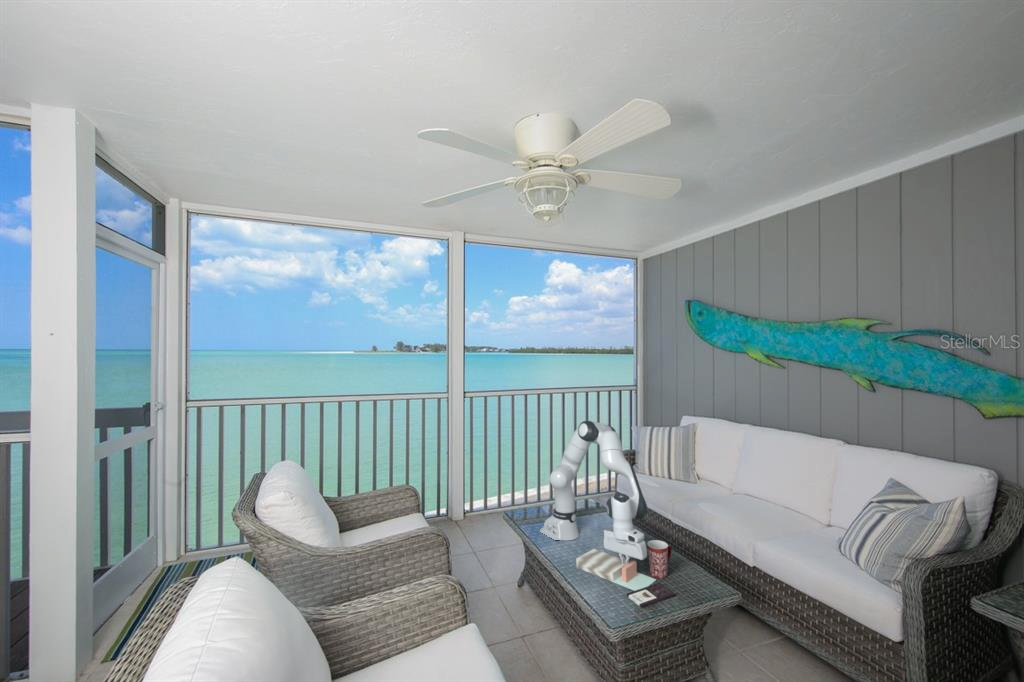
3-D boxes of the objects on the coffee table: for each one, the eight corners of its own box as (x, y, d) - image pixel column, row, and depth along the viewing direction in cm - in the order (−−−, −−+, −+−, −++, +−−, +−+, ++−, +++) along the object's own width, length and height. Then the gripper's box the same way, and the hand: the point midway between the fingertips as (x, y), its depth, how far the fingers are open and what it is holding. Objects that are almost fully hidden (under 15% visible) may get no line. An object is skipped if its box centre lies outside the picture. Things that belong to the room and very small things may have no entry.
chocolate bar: (675, 593, 179) (641, 605, 171) (675, 595, 179) (641, 608, 171) (659, 582, 187) (626, 593, 179) (659, 584, 187) (626, 595, 179)
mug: (658, 581, 191) (657, 550, 191) (643, 572, 199) (642, 542, 199) (679, 574, 196) (678, 543, 197) (664, 565, 204) (663, 536, 205)
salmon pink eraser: (621, 567, 191) (625, 569, 190) (632, 560, 197) (636, 561, 196) (622, 581, 191) (626, 583, 190) (632, 573, 197) (636, 575, 196)
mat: (611, 581, 192) (611, 580, 192) (628, 569, 202) (627, 568, 202) (640, 593, 182) (640, 592, 182) (656, 580, 192) (656, 579, 192)
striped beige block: (576, 567, 205) (576, 558, 206) (593, 556, 215) (593, 548, 215) (613, 582, 191) (612, 573, 191) (629, 570, 201) (629, 561, 201)
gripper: (599, 529, 201) (601, 559, 200) (640, 540, 186) (642, 573, 185) (607, 525, 205) (609, 555, 204) (647, 535, 191) (649, 567, 190)
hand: (625, 563), depth 195 cm, fingers closed
